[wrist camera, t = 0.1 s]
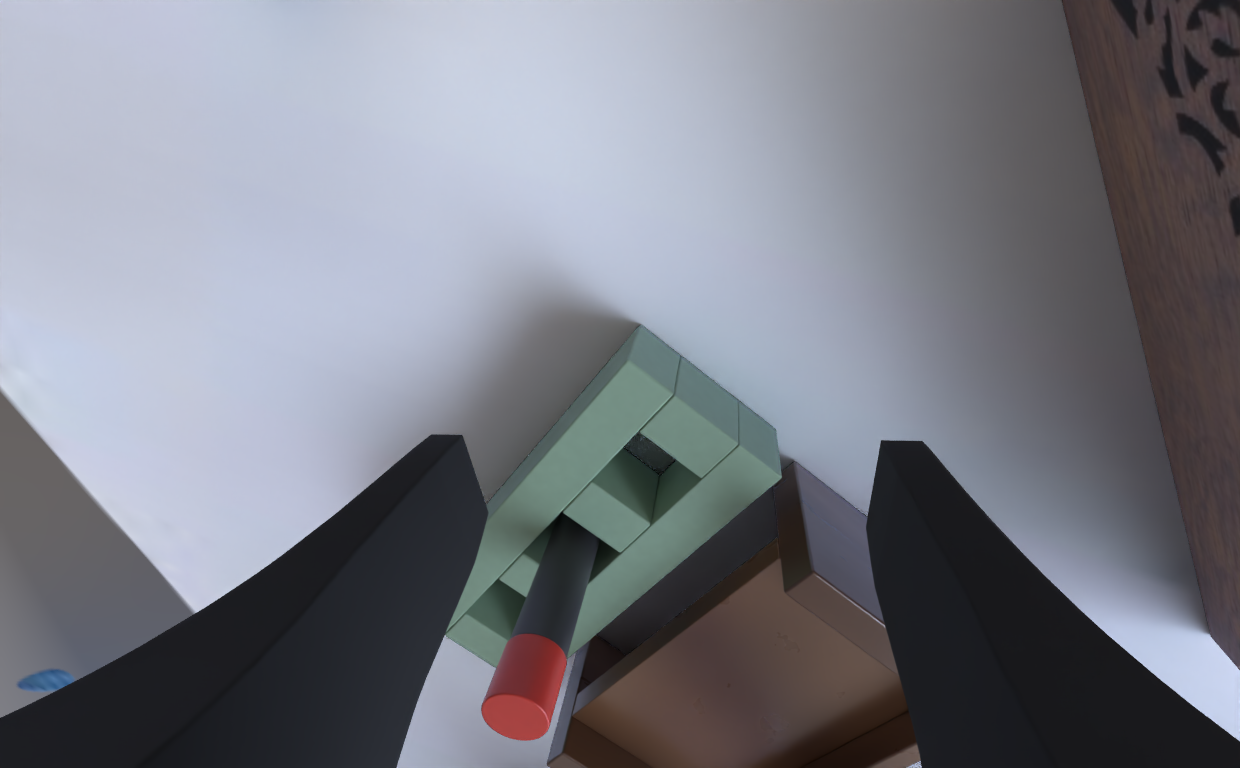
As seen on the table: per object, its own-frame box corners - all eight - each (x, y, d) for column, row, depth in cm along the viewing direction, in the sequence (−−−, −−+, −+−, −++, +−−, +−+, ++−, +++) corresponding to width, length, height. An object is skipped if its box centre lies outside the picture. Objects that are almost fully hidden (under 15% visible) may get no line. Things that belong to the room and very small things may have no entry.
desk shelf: (716, 736, 30) (713, 870, 25) (577, 644, 28) (544, 765, 23) (958, 586, 23) (1020, 724, 18) (794, 459, 22) (813, 571, 17)
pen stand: (776, 429, 22) (782, 478, 19) (548, 633, 28) (530, 691, 26) (640, 323, 21) (627, 358, 18) (437, 560, 27) (406, 612, 25)
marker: (592, 529, 25) (524, 750, 17) (555, 503, 25) (468, 715, 17) (620, 502, 24) (562, 721, 16) (582, 475, 24) (503, 684, 16)
